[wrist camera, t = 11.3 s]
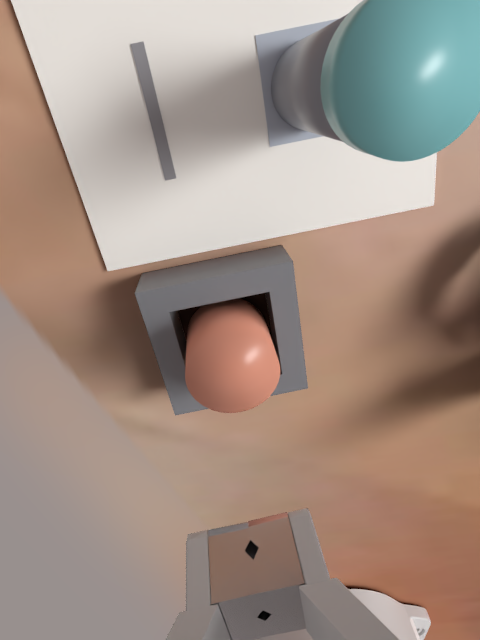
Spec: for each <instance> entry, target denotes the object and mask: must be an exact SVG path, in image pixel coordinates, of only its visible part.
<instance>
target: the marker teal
mask: <svg viewBox="0 0 480 640" xmlns="http://www.w3.org/2000/svg"><path fill="white" fill-rule="evenodd" d="M271 94H272V100H273V103H274V106H275V109H276V110H277V112H278V114H279V115H280V117H281V118H282V119H283V120H284V121H285V122H286V123H288V124H289V125H291V126H293V127H295V128H298V129H301V130H304V131H308V132H311V133H315V134H318V135H321V136H325V137H328V138H331V139H335V140H338V141H342V142H344V143H346V144H347V145H348V146H350V147H352V148H353V149H355V150H358V151H361V152H363V153H367V154H370V155H373V156H376V157H379V158H382V159H385V160H390V161H399V162H405V161H414V160H418V159H422V158H425V157H427V156H430V155H432V154H434V153H436V152H438V151H440V150H442V149H443V148H445V147H446V146H448V145H449V144H451V143H452V142H453V141H454V140H455V139H457V138H458V137H459V136H460V135H461V134H462V133H463V132H464V131H465V130H466V129H467V128H468V126H469V125H470V124H471V123H472V121H473V120H474V119H475V117H476V116H477V114H478V113H479V111H480V0H363V1H362V2H360V3H359V4H358V5H357V6H355V7H354V8H353V9H352V10H351V11H350V12H349V13H348V14H347V15H345V16H343V17H342V18H340V19H338V20H336V21H334V22H333V23H331V24H329V25H327V26H325V27H323V28H322V29H320V30H318V31H316V32H314V33H313V34H311V35H309V36H307V37H305V38H304V39H302V40H300V41H298V42H296V43H295V44H293V45H292V46H290V47H289V48H288V49H287V50H286V51H285V52H284V53H283V54H282V56H281V57H280V59H279V60H278V62H277V64H276V66H275V69H274V72H273V76H272V82H271Z"/></svg>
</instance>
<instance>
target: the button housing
mask: <svg viewBox="0 0 480 640" xmlns="http://www.w3.org/2000/svg"><path fill="white" fill-rule="evenodd" d="M261 293H265V297H266V303H267V310H268V316H269V322H270V328H271V334H272V341H273V345H274V348H275V351H276V354H277V357H278V360H279V364H280V378H279V382H278V384H277V387H276V388H275V390H274V392H273V393H272V394H271V395H270V396H273V395H277V394H282V393H287V392H292V391H297V390H302V389H307V388H308V384H307V376H306V368H305V359H304V351H303V343H302V334H301V326H300V317H299V309H298V301H297V292H296V284H295V275H294V267H293V261H292V259H291V258H290V256H289V255H288V253H287V252H286V250H285V249H284V247H283V246H282V245H279V246H274V247H269V248H265V249H260V250H255V251H250V252H245V253H240V254H235V255H230V256H225V257H220V258H215V259H210V260H205V261H200V262H195V263H190V264H185V265H181V266H176V267H171V268H166V269H161V270H156V271H151V272H146V273H142V275H141V277H140V280H139V283H138V286H137V289H136V291H135V296H136V299H137V302H138V305H139V308H140V311H141V314H142V317H143V320H144V323H145V326H146V329H147V332H148V335H149V338H150V341H151V344H152V347H153V350H154V353H155V356H156V359H157V362H158V365H159V368H160V371H161V374H162V377H163V380H164V383H165V386H166V389H167V392H168V395H169V398H170V401H171V404H172V407H173V410H174V413H175V415H179V414H184V413H189V412H194V411H199V410H204V409H209V408H206V407H205V406H203V405H201V404H200V403H199V402H197V401H196V400H195V399H194V398H193V396H192V395H191V394H190V392H189V390H188V388H187V385H186V381H185V365H186V345H187V341H186V338H185V334H184V331H183V327H182V323H181V320H180V316H179V313H178V310H182V309H187V308H192V307H197V306H202V305H207V304H212V303H216V302H221V301H226V300H231V299H236V298H241V297H246V296H251V295H256V294H261Z"/></svg>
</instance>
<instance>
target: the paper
mask: <svg viewBox="0 0 480 640" xmlns="http://www.w3.org/2000/svg"><path fill="white" fill-rule="evenodd" d="M362 1H363V0H11V2H12V5H13V7H14V10H15V13H16V16H17V19H18V21H19V24H20V27H21V30H22V33H23V35H24V38H25V41H26V44H27V47H28V49H29V52H30V55H31V58H32V61H33V63H34V66H35V69H36V72H37V75H38V77H39V80H40V83H41V86H42V89H43V91H44V94H45V97H46V100H47V103H48V105H49V108H50V111H51V114H52V117H53V119H54V122H55V125H56V128H57V131H58V133H59V136H60V139H61V142H62V145H63V147H64V150H65V153H66V156H67V159H68V161H69V164H70V167H71V170H72V173H73V175H74V178H75V181H76V184H77V187H78V189H79V192H80V195H81V198H82V201H83V203H84V206H85V209H86V212H87V215H88V217H89V220H90V223H91V226H92V229H93V231H94V234H95V237H96V240H97V243H98V245H99V248H100V251H101V254H102V257H103V259H104V262H105V265H106V268H107V271H112V270H117V269H122V268H127V267H132V266H137V265H142V264H146V263H151V262H156V261H161V260H166V259H171V258H176V257H181V256H186V255H191V254H196V253H201V252H206V251H211V250H216V249H221V248H226V247H230V246H235V245H240V244H245V243H250V242H255V241H260V240H265V239H270V238H275V237H280V236H285V235H290V234H295V233H300V232H305V231H310V230H315V229H319V228H324V227H329V226H334V225H339V224H344V223H349V222H354V221H359V220H364V219H369V218H374V217H379V216H384V215H389V214H394V213H399V212H403V211H408V210H413V209H418V208H423V207H428V206H433V205H434V194H435V176H436V158H437V152H436V153H434V154H432V155H430V156H427V157H425V158H422V159H418V160H414V161H405V162H399V161H390V160H385V159H382V158H379V157H376V156H373V155H370V154H367V153H363V152H361V151H358V150H355V149H353V148H352V147H350V146H348V145H347V144H346V143H344V142H342V141H338V140H335V139H331V138H328V137H325V136H321V135H318V134H315V133H311V132H308V131H304V130H301V129H298V128H295V127H293V126H291V125H289V124H288V123H286V122H285V121H284V120H283V119H282V118H281V117H280V115H279V114H278V112H277V110H276V109H275V106H274V103H273V100H272V94H271V82H272V76H273V72H274V69H275V66H276V64H277V62H278V60H279V59H280V57H281V56H282V54H283V53H284V52H285V51H286V50H287V49H288V48H289V47H290V46H292V45H293V44H295V43H296V42H298V41H300V40H302V39H304V38H305V37H307V36H309V35H311V34H313V33H314V32H316V31H318V30H320V29H322V28H323V27H325V26H327V25H329V24H331V23H333V22H334V21H336V20H338V19H340V18H342V17H343V16H345V15H347V14H348V13H349V12H350V11H351V10H352V9H353V8H354V7H355V6H357V5H358V4H359V3H360V2H362Z"/></svg>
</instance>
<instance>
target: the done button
mask: <svg viewBox="0 0 480 640" xmlns="http://www.w3.org/2000/svg"><path fill="white" fill-rule="evenodd" d="M279 378H280V364H279V360H278V357H277V354H276V351H275V348H274V345H273V342H272V339H271V336H270V333H269V330H268V327H267V324H266V321H265V319H264V317H263V315H262V313H261V312H260V311H259V310H258V309H257V308H256V307H255V306H254V305H253V304H251V303H250V302H248V301H246V300H243V299H239V298H236V299H231V300H226V301H221V302H216V303H212V304H207V305H202V306H201V307H200V308H199V309H198V310H197V311H196V312H195V313H194V314H193V316H192V317H191V319H190V322H189V324H188V329H187V345H186V365H185V381H186V385H187V388H188V390H189V392H190V394H191V395H192V396H193V398H194V399H195V400H196V401H197V402H199V403H200V404H201V405H203V406H205V407H206V408H209V409H211V410H214V411H218V412H224V413H236V412H242V411H246V410H249V409H252V408H254V407H256V406H258V405H260V404H261V403H263V402H264V401H265V400H266V399H268V397H269V396H270V395H271V394H272V393H273V392H274V390H275V388H276V387H277V384H278V382H279Z"/></svg>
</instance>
